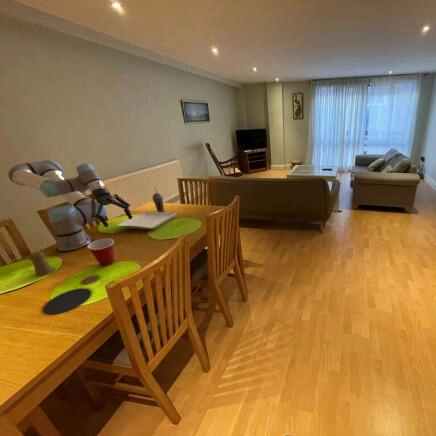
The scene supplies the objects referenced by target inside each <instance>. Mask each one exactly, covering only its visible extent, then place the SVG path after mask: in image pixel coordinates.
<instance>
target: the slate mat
mask: <svg viewBox="0 0 436 436" xmlns="http://www.w3.org/2000/svg"><path fill="white" fill-rule="evenodd" d="M91 295H92V291H91V290H90V289H89V288H75V289H70V290H68V291H66V292H63V293H60V294H59V295H56V296H55V297H53V298H51V299H50V300H49V301H48V302H47V303H45V304H44V306H43V309H42V311H43V313H44V314H47V315H59V314H62V313H65V312H68V311H71V310H73V309H76V308H77V307H79V306H81V305H82V304H84V303H85V302H86V301H87V300H89V298H90V297H91Z"/></svg>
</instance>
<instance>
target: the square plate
mask: <svg viewBox="0 0 436 436" xmlns="http://www.w3.org/2000/svg"><path fill="white" fill-rule="evenodd" d="M176 215H177V213H176V212H166V211H164V212H158V211H142V212H140V213H139V214H136V215H134V216H132V217H133V218H132V219H129V218H128V219H126V220H124V221H122V222H120V223H118V224H117V225H116V226H117V227H119V228H123V229H131V230H133V229H134V230H154V229H156V228H158V227H159V226H161V225H163V224H165V223H166V222H168V221H170V220H171V219H173V218H174V217H175V216H176Z"/></svg>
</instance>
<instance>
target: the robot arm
mask: <svg viewBox="0 0 436 436" xmlns="http://www.w3.org/2000/svg"><path fill="white" fill-rule="evenodd" d="M75 170H76V172H77V173H78V175H77V176H75V177H70V178H65V177H64V176H65V172H64V169H63V168H62V166H61V165H60V164H59V163H58V162H57V161H55V160H52V159H51V160H41V161H33V162H25V163H24V162H23V163H18V164H15V165H13V166H12V167H11V168H10V169H9V170H8V173H7V176H8V178H9V180H10V181H11V182H12V183H14V184H16V185H19V186H27V187H30V188H33V189H36V190H39V191H40V192H41V194H42V195H43V196H44V197H46V198H52V197H58V196H61V197H62V198H63V199H64V200H65V201H66V202H67V203H68V204H69V205H64V206H59V207H57V208H54V209H52V210H51V211H49V213H47V214H48V220H49V223H50V224H51V226H52V228H53V230H54V233H55V235H56V238H57V239H56V246H57V250H58V251H59V252H72V251H76V250H80V249H82V248H85V247H87V246H88V244H90V243H91V242H92V239H91V237H90V236H89V235H88V234H87V233H86V232H85V231H84V229H83V227H82V226H85V225H88V224H91V223H94V222H96V221H98V222H99V223H102V225H103V226H104V228H105V229H106V228H108V227H109V223H108V221H106V219H105V218H106V216H107V208H106V206H108V205H114V206H117V207H119V208H121V209H123V212H124V213H125V215H126V216H127V218H128V219H132V218H133V217H134V216H132V214H131V210H130V207H131V204H130V203H129V202H127V201H126V200H124V199H123V198H122V197H121V196H119V195H118V194H117V193H115V194H113V195H112V194H111V193H110V191H109V189H108V187H106V185H105V183H104V182H103V180H102V178H101V176H100V175H99V173H98V172H97V171H96V168H95V167H94V166H93V165H92V164H91V163H82V164H79V165H77V166H76V167H75ZM88 190H89V192H90V193H91V195H92V196H93V198H92V197H89V196H85V195H84V192H87V191H88Z"/></svg>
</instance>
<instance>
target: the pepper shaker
mask: <svg viewBox="0 0 436 436" xmlns="http://www.w3.org/2000/svg"><path fill="white" fill-rule="evenodd" d="M45 256H46V255H45V252H43V251H35V252H32V253H31V254H29V255H28V259H29V260H30V261H31V262H32V264H33V268H34V271H35V275H36V276H37V277H43V276H46V275H49V274H51V273H52V272H53V271H54V268H53V267H52V266H51V264H50V263H49V262H48V260H47V259H46V258H45Z"/></svg>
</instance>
